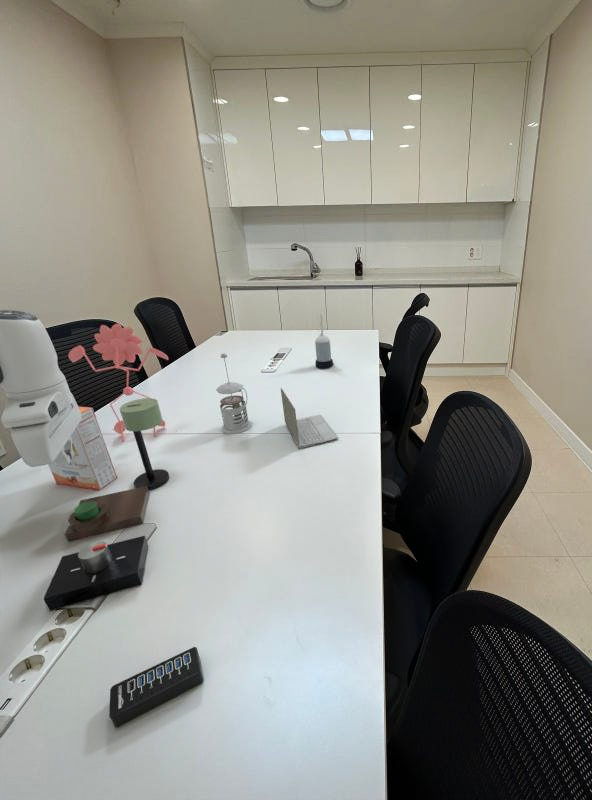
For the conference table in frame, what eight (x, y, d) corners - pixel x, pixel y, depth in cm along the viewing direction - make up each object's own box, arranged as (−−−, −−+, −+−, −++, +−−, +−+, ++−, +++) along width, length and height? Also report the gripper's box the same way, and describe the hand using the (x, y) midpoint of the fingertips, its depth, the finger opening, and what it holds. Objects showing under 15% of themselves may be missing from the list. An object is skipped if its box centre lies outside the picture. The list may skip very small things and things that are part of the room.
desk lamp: (132, 494, 95) (106, 416, 86) (137, 477, 102) (113, 402, 93) (176, 484, 98) (155, 408, 90) (178, 468, 105) (159, 396, 96)
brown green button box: (67, 544, 80) (60, 529, 79) (83, 507, 91) (78, 493, 89) (142, 525, 85) (138, 510, 83) (150, 492, 95) (145, 479, 94)
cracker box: (54, 485, 99) (23, 412, 91) (76, 472, 105) (48, 401, 96) (99, 492, 96) (70, 417, 88) (118, 478, 102) (93, 406, 93)
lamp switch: (74, 523, 81) (71, 515, 80) (80, 511, 84) (77, 503, 83) (97, 517, 82) (94, 510, 81) (101, 506, 85) (98, 499, 85)
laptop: (338, 439, 117) (336, 400, 112) (298, 449, 113) (293, 409, 108) (321, 416, 132) (317, 380, 127) (284, 424, 128) (280, 387, 123)
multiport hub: (204, 682, 55) (200, 671, 54) (114, 729, 50) (108, 718, 49) (199, 655, 58) (196, 645, 57) (115, 696, 53) (110, 686, 52)
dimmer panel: (49, 611, 66) (42, 598, 65) (67, 567, 74) (61, 555, 73) (141, 584, 70) (137, 571, 69) (148, 546, 79) (144, 534, 78)
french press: (214, 431, 124) (198, 357, 114) (236, 416, 134) (223, 346, 124) (241, 435, 121) (227, 359, 111) (261, 419, 131) (250, 348, 121)
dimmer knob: (81, 576, 69) (74, 560, 67) (87, 558, 72) (81, 543, 71) (109, 569, 70) (103, 553, 69) (114, 552, 74) (108, 536, 72)
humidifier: (336, 366, 180) (332, 312, 170) (319, 370, 177) (315, 315, 166) (329, 362, 187) (325, 310, 177) (313, 365, 183) (308, 312, 173)
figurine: (184, 433, 124) (156, 324, 109) (91, 447, 117) (49, 333, 103) (189, 413, 137) (165, 314, 123) (106, 425, 130) (71, 322, 116)
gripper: (41, 382, 80) (64, 440, 85) (-5, 424, 62) (28, 494, 68) (77, 378, 82) (97, 435, 88) (42, 417, 64) (70, 485, 70)
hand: (67, 461), depth 78 cm, fingers closed
